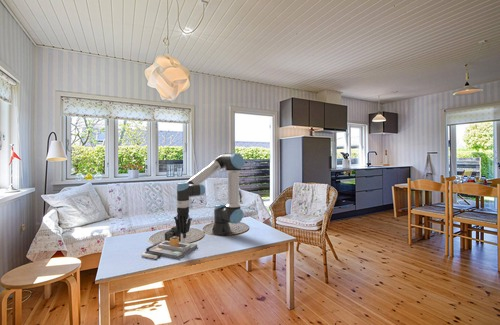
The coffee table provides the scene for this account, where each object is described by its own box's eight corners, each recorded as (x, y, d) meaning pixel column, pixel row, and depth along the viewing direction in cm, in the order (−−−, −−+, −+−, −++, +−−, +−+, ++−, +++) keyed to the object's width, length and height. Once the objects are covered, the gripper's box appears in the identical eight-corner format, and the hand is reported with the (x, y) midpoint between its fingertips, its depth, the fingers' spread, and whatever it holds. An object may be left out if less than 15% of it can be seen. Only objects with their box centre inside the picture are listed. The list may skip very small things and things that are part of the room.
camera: (175, 243, 170) (175, 229, 170) (163, 242, 172) (163, 229, 172) (184, 237, 183) (184, 224, 183) (172, 236, 185) (172, 223, 185)
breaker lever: (174, 245, 161) (174, 235, 161) (179, 246, 159) (179, 236, 159) (169, 247, 157) (169, 237, 156) (174, 248, 155) (174, 238, 155)
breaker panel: (171, 243, 171) (171, 237, 171) (197, 247, 163) (197, 241, 163) (150, 253, 153) (150, 247, 153) (178, 259, 145) (178, 252, 145)
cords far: (140, 256, 148) (140, 253, 148) (146, 253, 152) (146, 250, 152) (155, 259, 144) (155, 256, 144) (161, 256, 148) (161, 253, 148)
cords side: (160, 243, 170) (160, 241, 170) (165, 244, 168) (165, 242, 168) (145, 251, 157) (145, 248, 157) (150, 252, 155) (150, 249, 155)
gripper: (170, 206, 154) (170, 243, 154) (187, 208, 149) (187, 246, 149) (178, 204, 161) (178, 239, 161) (194, 206, 156) (194, 242, 156)
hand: (182, 242), depth 155 cm, fingers closed
